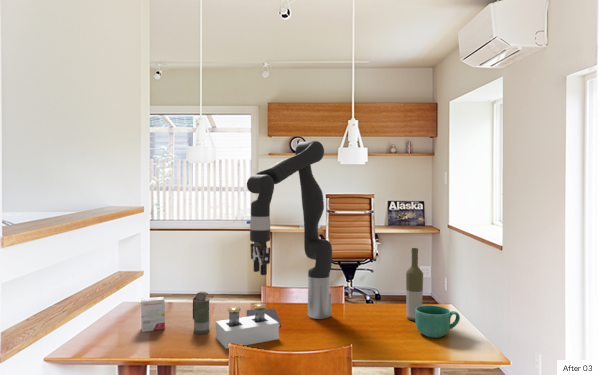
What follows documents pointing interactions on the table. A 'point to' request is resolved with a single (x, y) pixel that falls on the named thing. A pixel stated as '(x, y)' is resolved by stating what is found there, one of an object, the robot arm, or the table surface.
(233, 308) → the peg
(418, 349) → the table surface
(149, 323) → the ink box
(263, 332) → the socket block
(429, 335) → the mug
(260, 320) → the peg
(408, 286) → the bottle
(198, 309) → the grenade
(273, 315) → the notebook
